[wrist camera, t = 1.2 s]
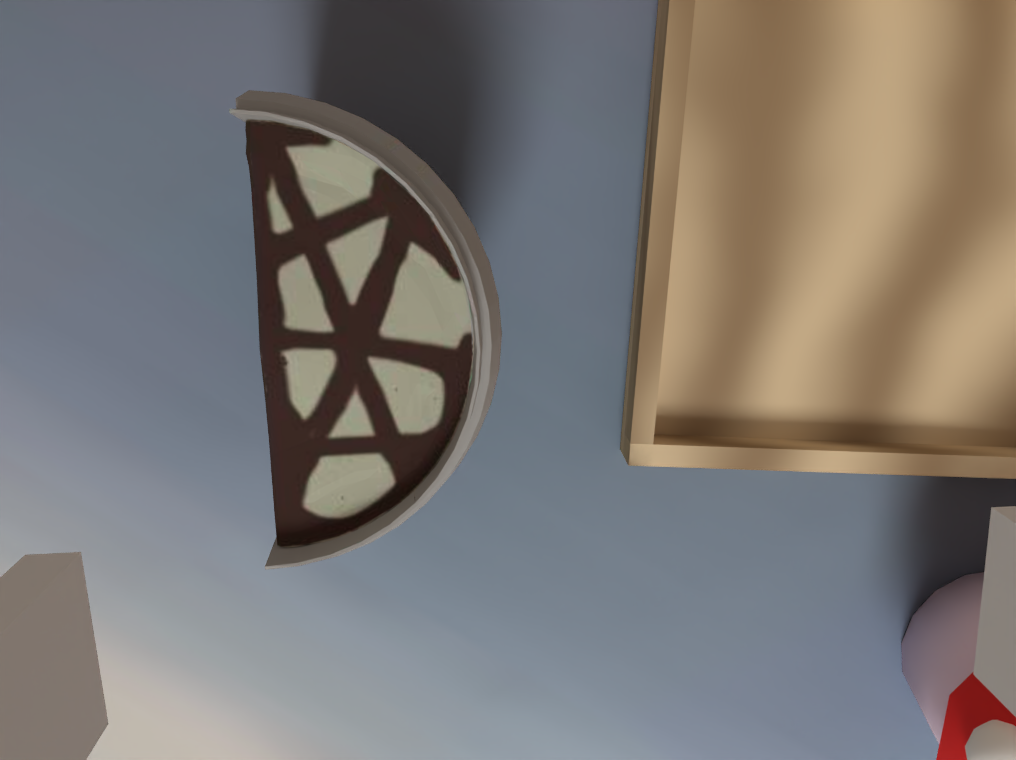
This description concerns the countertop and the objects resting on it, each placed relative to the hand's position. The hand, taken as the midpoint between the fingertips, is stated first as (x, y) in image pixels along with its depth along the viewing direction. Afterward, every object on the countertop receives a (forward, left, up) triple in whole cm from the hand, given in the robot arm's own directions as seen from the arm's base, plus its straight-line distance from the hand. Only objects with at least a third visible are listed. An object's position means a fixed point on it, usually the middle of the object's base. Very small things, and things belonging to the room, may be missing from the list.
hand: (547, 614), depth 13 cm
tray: (+15, +5, -19) cm, 25 cm away
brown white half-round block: (-3, +2, -20) cm, 20 cm away
